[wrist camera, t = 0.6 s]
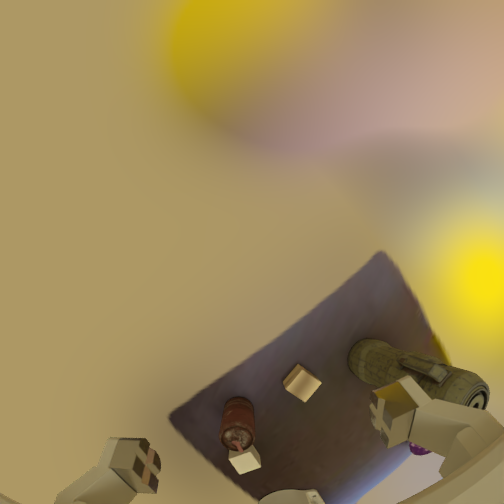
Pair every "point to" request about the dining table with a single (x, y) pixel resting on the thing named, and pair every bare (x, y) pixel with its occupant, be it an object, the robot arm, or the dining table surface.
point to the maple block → (301, 383)
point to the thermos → (417, 373)
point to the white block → (245, 460)
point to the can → (237, 425)
